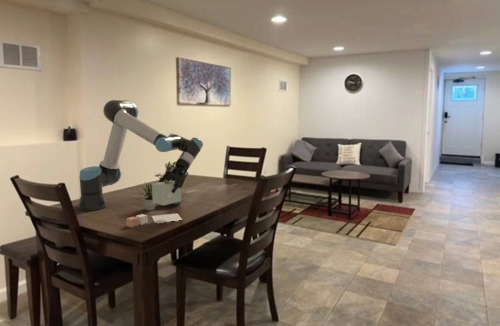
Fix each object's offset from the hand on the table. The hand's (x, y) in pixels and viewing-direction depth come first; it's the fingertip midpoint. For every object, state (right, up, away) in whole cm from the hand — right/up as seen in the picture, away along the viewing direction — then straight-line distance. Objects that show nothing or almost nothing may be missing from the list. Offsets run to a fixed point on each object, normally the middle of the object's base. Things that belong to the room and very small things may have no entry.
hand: (162, 196), depth 187 cm
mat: (+1, -12, +5) cm, 13 cm away
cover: (+2, -3, +3) cm, 5 cm away
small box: (-3, -8, +33) cm, 35 cm away
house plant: (-14, -10, +23) cm, 29 cm away
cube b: (-13, -14, -8) cm, 21 cm away
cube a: (-9, -13, -3) cm, 17 cm away
